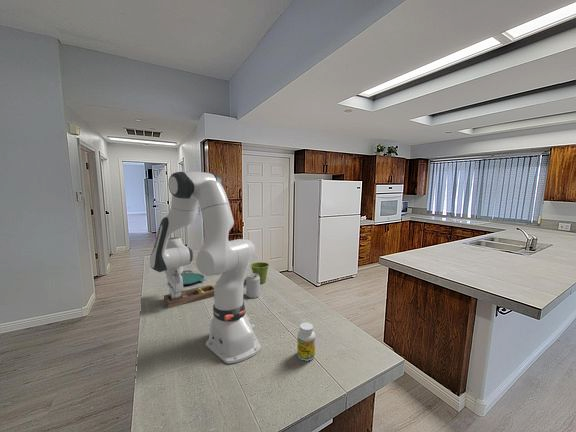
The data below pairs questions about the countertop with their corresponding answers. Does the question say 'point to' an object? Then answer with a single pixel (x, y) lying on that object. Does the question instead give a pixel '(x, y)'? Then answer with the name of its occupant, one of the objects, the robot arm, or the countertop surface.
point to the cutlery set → (191, 278)
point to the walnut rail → (186, 298)
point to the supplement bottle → (306, 342)
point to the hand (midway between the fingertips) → (175, 294)
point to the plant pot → (260, 270)
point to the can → (253, 285)
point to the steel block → (172, 295)
